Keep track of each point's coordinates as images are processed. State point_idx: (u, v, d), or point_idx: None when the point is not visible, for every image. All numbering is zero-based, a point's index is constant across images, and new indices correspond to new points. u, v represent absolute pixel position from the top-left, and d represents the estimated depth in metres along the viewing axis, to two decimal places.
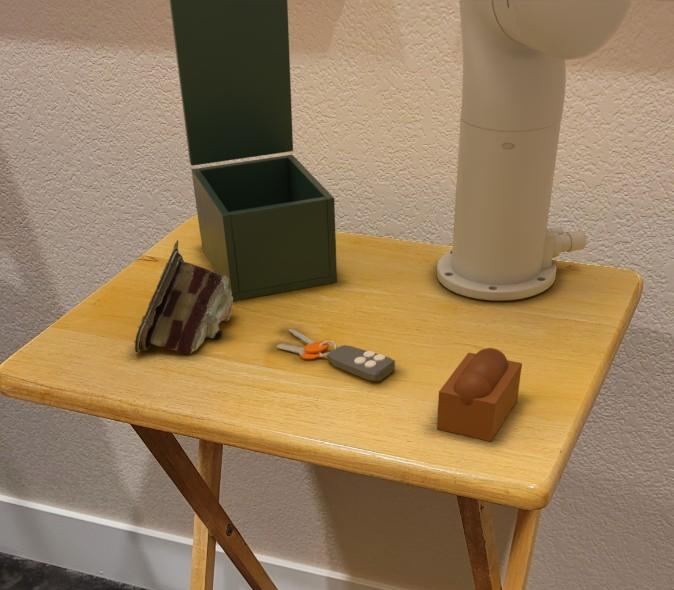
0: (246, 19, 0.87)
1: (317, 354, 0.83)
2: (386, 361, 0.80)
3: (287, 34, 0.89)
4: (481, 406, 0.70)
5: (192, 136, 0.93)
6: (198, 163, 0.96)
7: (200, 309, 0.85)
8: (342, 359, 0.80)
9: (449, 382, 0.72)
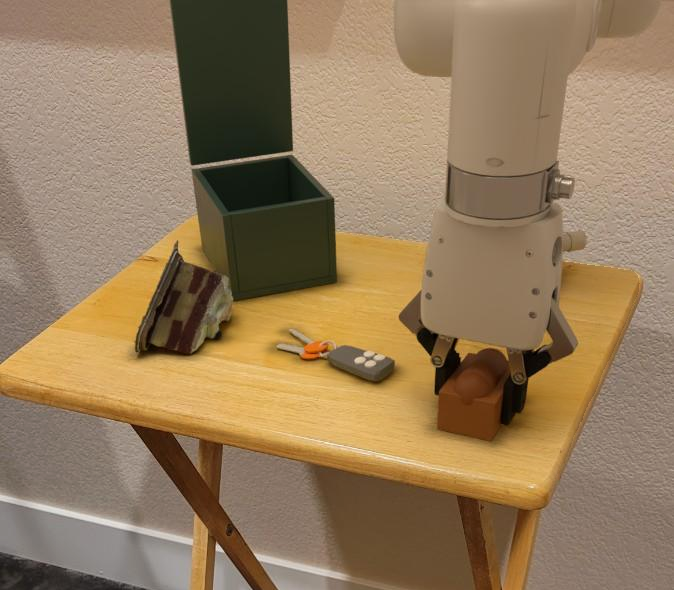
0: (246, 19, 0.87)
1: (317, 354, 0.83)
2: (386, 361, 0.80)
3: (287, 34, 0.89)
4: (481, 406, 0.70)
5: (192, 136, 0.93)
6: (198, 163, 0.96)
7: (200, 309, 0.85)
8: (342, 359, 0.80)
9: (449, 382, 0.72)
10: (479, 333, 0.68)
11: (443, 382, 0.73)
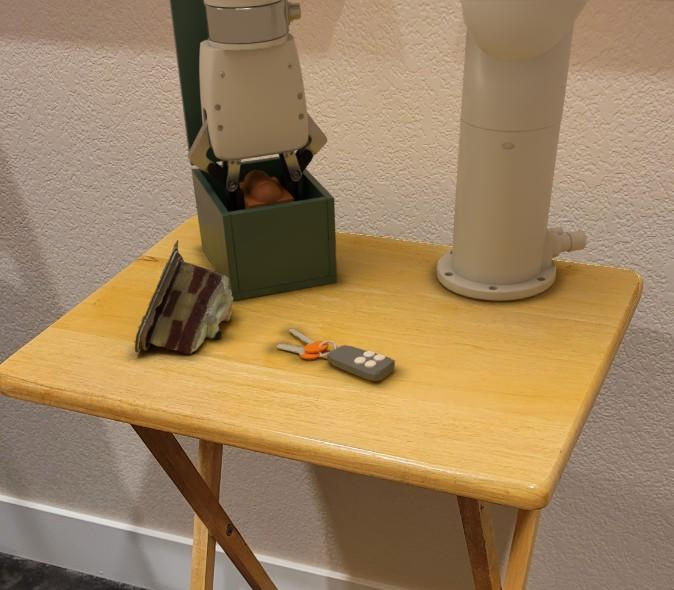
0: None
1: (317, 354, 0.83)
2: (386, 361, 0.80)
3: None
4: None
5: (192, 136, 0.93)
6: None
7: (200, 309, 0.85)
8: (342, 359, 0.80)
9: (248, 199, 0.91)
10: (264, 146, 0.88)
11: (241, 202, 0.91)
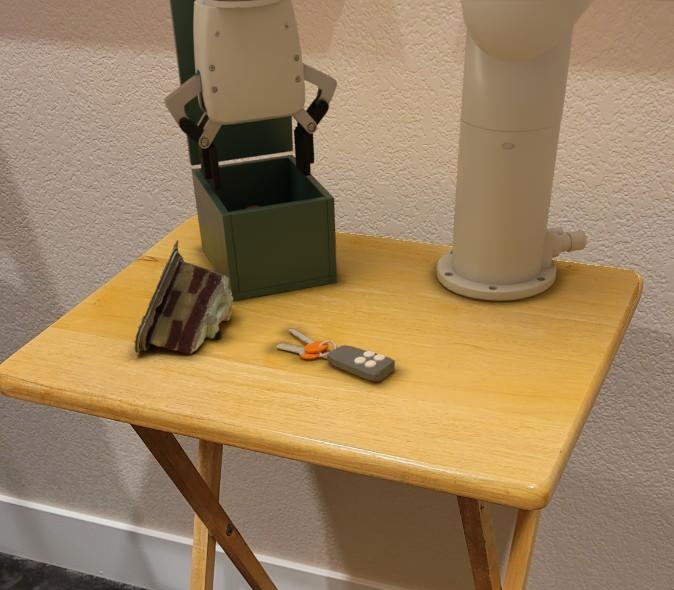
0: None
1: (317, 354, 0.83)
2: (386, 361, 0.80)
3: None
4: None
5: None
6: (198, 163, 0.96)
7: (200, 309, 0.85)
8: (342, 359, 0.80)
9: None
10: (260, 110, 0.86)
11: (214, 160, 0.88)
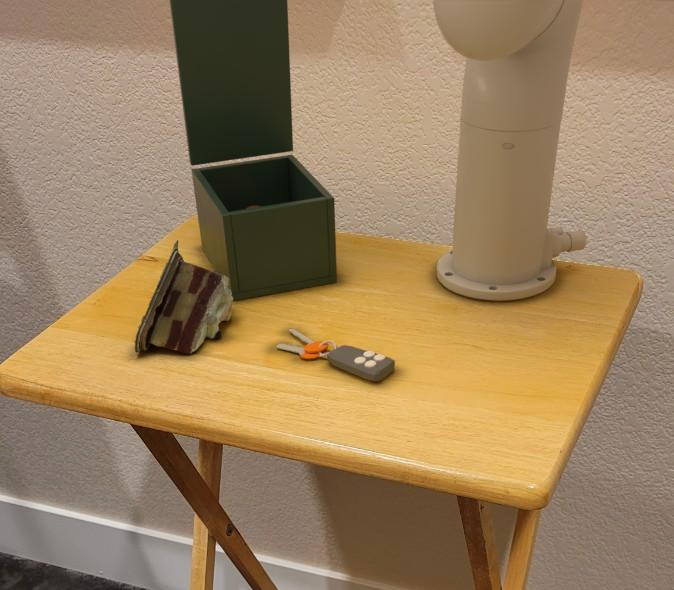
0: (246, 19, 0.87)
1: (317, 354, 0.83)
2: (386, 361, 0.80)
3: (287, 34, 0.89)
4: None
5: (192, 136, 0.93)
6: (198, 163, 0.96)
7: (200, 309, 0.85)
8: (342, 359, 0.80)
9: None
10: None
11: None
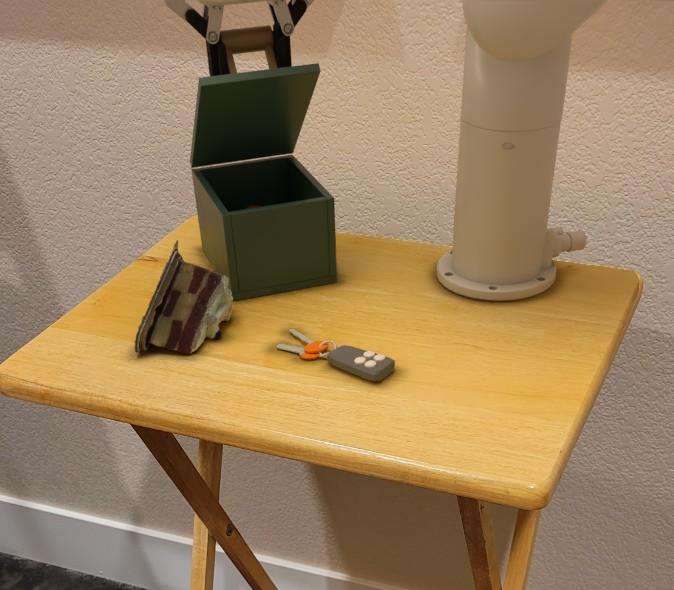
0: (273, 91, 0.85)
1: (317, 354, 0.83)
2: (386, 361, 0.80)
3: (311, 95, 0.87)
4: None
5: (197, 153, 0.93)
6: (198, 166, 0.96)
7: (200, 309, 0.85)
8: (342, 359, 0.80)
9: None
10: None
11: (223, 57, 0.82)
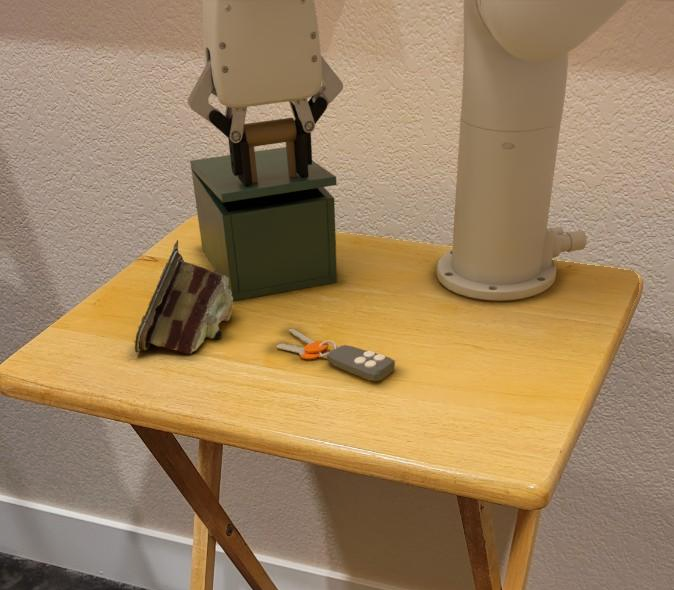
0: None
1: (317, 354, 0.83)
2: (386, 361, 0.80)
3: None
4: None
5: None
6: None
7: (200, 309, 0.85)
8: (342, 359, 0.80)
9: None
10: (273, 92, 0.80)
11: (246, 155, 0.83)
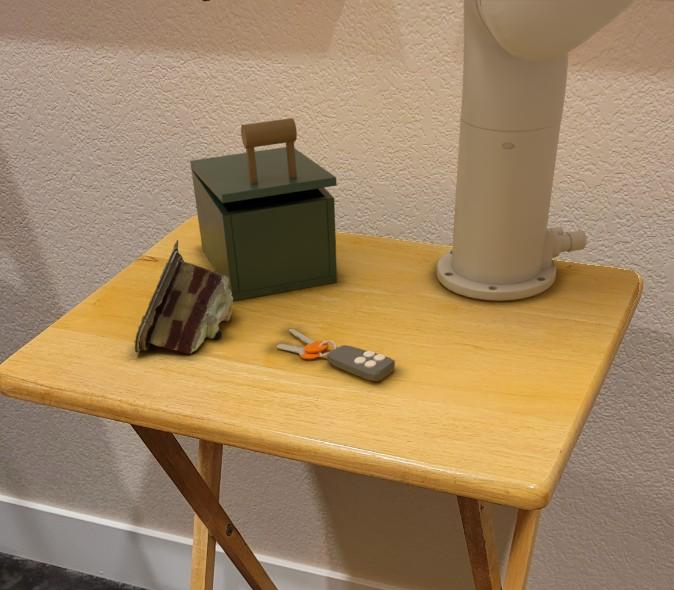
0: None
1: (317, 354, 0.83)
2: (386, 361, 0.80)
3: None
4: None
5: None
6: None
7: (200, 309, 0.85)
8: (342, 359, 0.80)
9: None
10: None
11: None
